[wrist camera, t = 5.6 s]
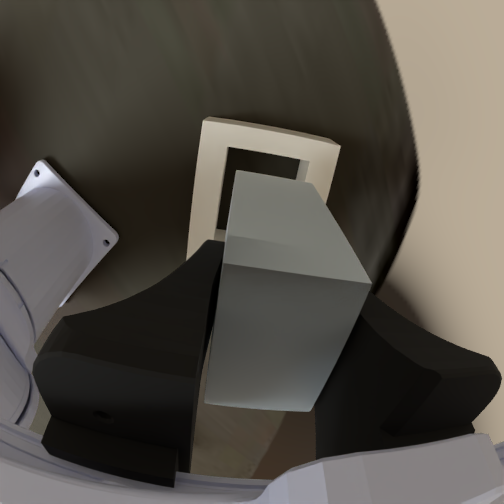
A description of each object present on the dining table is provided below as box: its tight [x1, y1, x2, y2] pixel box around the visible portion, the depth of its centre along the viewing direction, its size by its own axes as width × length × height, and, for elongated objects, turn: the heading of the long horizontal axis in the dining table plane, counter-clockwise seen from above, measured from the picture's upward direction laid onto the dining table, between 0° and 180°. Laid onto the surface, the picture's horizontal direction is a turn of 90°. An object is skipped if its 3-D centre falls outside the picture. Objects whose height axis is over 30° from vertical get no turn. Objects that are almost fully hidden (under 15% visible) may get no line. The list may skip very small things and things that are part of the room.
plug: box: [204, 170, 372, 411], centre depth 10 cm, size 4×3×7 cm, turn 170°
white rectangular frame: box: [186, 117, 341, 261], centre depth 19 cm, size 14×7×3 cm, turn 170°
